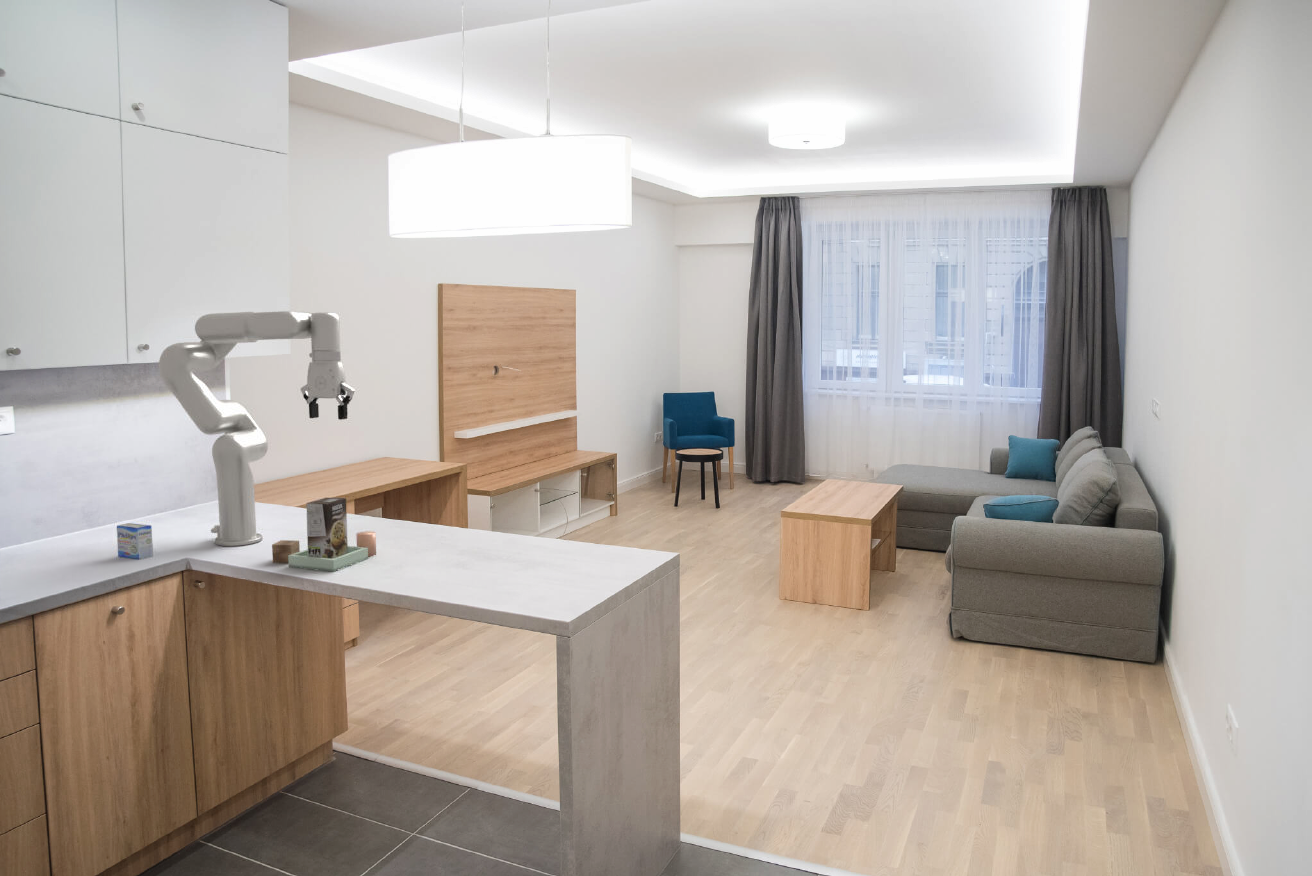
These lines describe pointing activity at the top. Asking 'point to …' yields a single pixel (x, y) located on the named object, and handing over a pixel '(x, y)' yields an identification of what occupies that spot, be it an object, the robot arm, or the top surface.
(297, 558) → the tray
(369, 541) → the light brown rounded block
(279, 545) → the walnut block
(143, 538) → the medicine box
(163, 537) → the top surface
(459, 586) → the top surface
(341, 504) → the coffee box
